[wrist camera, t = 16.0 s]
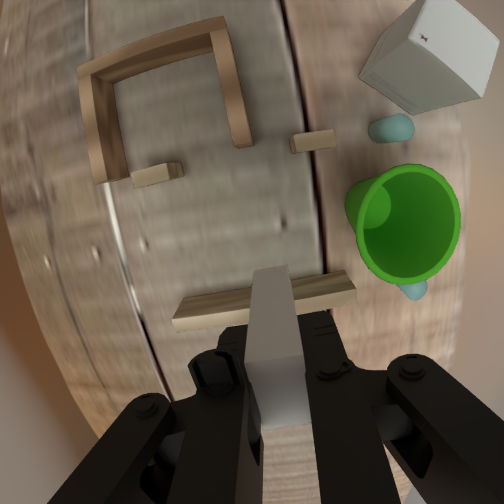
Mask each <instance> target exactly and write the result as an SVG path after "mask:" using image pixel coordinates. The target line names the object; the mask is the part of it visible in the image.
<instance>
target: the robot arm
mask: <svg viewBox="0 0 504 504" xmlns="http://www.w3.org/2000/svg"><path fill="white" fill-rule="evenodd" d="M188 368H189V371H190V373H191V376H192V378H193V381H194V383H195V386H196V388H197V391H196V394H195V395H193V396H191V397H188V398H186V399H182V400H178V401H175V402H171V403H170V402H169V400H168V399H167V398H166V396H165V395H162V394H159V393H147V394H143V395H141V396H139V397H137V398H135V399H133V400H132V401H131V402H130V403H129V404H128V405H127V406H126V408H125V409H124V410H123V411H122V412H121V414H120V415H119V416H118V417H117V419H116V420H115V421H114V422H113V423H112V425H111V426H110V427H109V428H108V430H107V431H106V432H105V433H104V434H103V436H102V437H101V438H100V439H99V441H98V442H97V443H96V444H95V446H94V447H93V448H92V449H91V451H90V452H89V453H88V454H87V455H86V456H85V458H84V459H83V460H82V462H81V463H80V464H79V465H78V466H77V468H76V469H75V470H74V471H73V472H72V474H71V475H70V476H69V477H68V479H67V480H66V481H65V482H64V483H63V485H62V486H61V487H60V488H59V490H58V491H57V492H56V493H55V495H54V496H53V497H52V498H51V499H50V501H49V502H48V503H47V504H262V494H263V451H264V443H263V439H262V435H261V423H262V426H263V430H264V429H273V428H281V427H289V426H296V425H303V424H309V423H312V430H313V438H314V446H315V454H316V462H317V470H318V479H319V488H320V497H321V504H401V501H400V498H399V494H398V491H397V487H396V484H395V481H394V477H393V474H392V471H391V468H390V464H389V461H388V458H387V455H386V452H385V449H384V445H385V446H386V448H387V449H388V451H389V452H390V453H391V455H392V456H393V458H394V459H395V460H396V462H397V463H398V465H399V466H400V467H401V469H402V470H403V471H404V473H405V474H406V476H407V477H408V478H409V480H410V481H411V483H412V484H413V485H414V487H415V488H416V489H417V491H418V492H419V494H420V495H421V496H422V498H423V499H424V501H425V502H426V503H427V504H504V421H503V420H502V419H501V418H500V417H499V416H497V415H496V414H495V413H494V412H493V411H492V410H491V409H490V408H488V407H487V406H486V405H485V404H484V403H483V402H481V401H480V400H479V399H478V398H477V397H476V396H475V395H473V394H472V393H471V392H470V391H469V390H468V389H466V388H465V387H464V386H463V385H462V384H461V383H459V382H458V381H457V380H456V379H455V378H454V377H452V376H451V375H450V374H449V373H448V372H446V371H445V370H444V369H443V368H442V367H441V366H439V365H438V364H437V363H436V362H435V361H433V360H432V359H430V358H429V357H427V356H425V355H420V354H406V355H403V356H400V357H397V358H396V359H394V360H393V361H391V363H390V364H389V366H388V367H387V370H365V369H361V368H359V367H357V366H355V364H354V363H353V362H352V361H351V360H349V359H348V357H347V354H346V351H345V349H344V346H343V343H342V340H341V338H340V335H339V333H338V330H337V327H336V325H335V322H334V319H333V317H332V316H331V315H330V314H329V313H327V312H326V311H324V310H322V311H317V312H312V313H306V314H301V315H297V314H296V308H295V303H294V297H293V292H292V286H291V281H290V276H289V270H288V265H284V266H278V267H273V268H267V269H262V270H256V271H254V274H253V283H252V293H251V302H250V312H249V321H248V324H246V325H239V326H232V327H227V328H226V329H225V330H224V331H223V332H222V334H221V335H220V336H219V340H218V346H217V349H212V350H207V351H205V352H203V353H200V354H198V355H197V356H196V357H194V358H193V359H192V360H191V361H190V363H189V364H188ZM382 441H383V442H382ZM383 444H384V445H383Z"/></svg>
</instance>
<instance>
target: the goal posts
mask: <svg viewBox="0 0 504 504" xmlns="http://www.w3.org/2000/svg"><path fill="white" fill-rule="evenodd" d="M414 130H415V128H414V124H413V121H412V120H411V119H410V117H408V116H407V115H405V114H396V115H393V116H390V117H387V118H384V119H381V120H377V121H374V122H373V123H371V124H370V126H369V129H368V133H369V136H370V138H371V139H372V140H373V141H374V142H376V143H389V142H397V141H406V140H409V139H410V138H412V136H413V134H414ZM396 285H397V284H396ZM397 287H398V288H399V289H400V290H401V291H402V292H403V293H404V294H405V295H406V296H407V297H408V298H409V299H410V300H413V301H416V300H419V299H421V298H422V297H423V296H424V295H425V293H426V291H427V282H426V280H424V281H422V282H419V283H416V284H409V285H397Z"/></svg>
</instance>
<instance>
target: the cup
mask: <svg viewBox="0 0 504 504" xmlns="http://www.w3.org/2000/svg"><path fill="white" fill-rule="evenodd" d="M345 212H346V214H347V217H348V219H349V221H350V224H351V226H352V228H353V230H354V232H355V234H356V242H357V246H358V249H359V252H360V255H361V257H362V259H363V261H364V262H365V264H366V265H367V267H368V269H370V270H371V271H372V272H373V273H374V274H375V275H376V276H377V277H378V278H380V279H382V280H384V281H386V282H388V283H392V284H397V285H409V284H416V283H419V282H422V281H424V280H427V279H428V278H430V277H431V276H433V275H435V274H436V273H437V272H438V271H439V270H440V269H441V268H442V267H443V266H444V265H445V264H446V263H447V261H448V260H449V258H450V257H451V255H452V254H453V252H454V249H455V247H456V244H457V242H458V238H459V233H460V228H461V213H460V208H459V204H458V200H457V198H456V195H455V193H454V191H453V189H452V187H451V186H450V185H449V183H448V182H447V181H446V180H445V178H444V177H443V176H442V175H440V174H439V173H438V172H436V171H435V170H434V169H432V168H429V167H426V166H424V165H421V164H404V165H400V166H395V167H393V168H391V169H390V170H388V171H386V172H384V173H382V174H381V175H380V176H377V177H374V178H370V179H367V180H363V181H360V182H358V183H357V184H355V185H354V186H353V187H352V188H351V189H350V191H349V192H348V194H347V197H346V200H345Z"/></svg>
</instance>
